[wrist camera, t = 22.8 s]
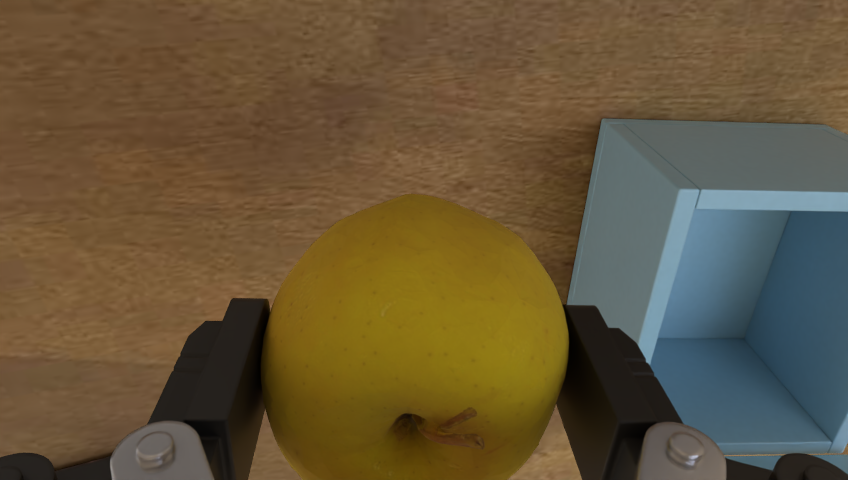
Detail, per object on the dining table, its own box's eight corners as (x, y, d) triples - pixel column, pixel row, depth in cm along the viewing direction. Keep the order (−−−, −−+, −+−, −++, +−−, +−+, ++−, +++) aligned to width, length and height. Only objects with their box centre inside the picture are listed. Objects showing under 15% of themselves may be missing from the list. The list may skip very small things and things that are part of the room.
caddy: (601, 117, 29) (679, 189, 21) (825, 124, 30) (979, 195, 22) (559, 340, 36) (607, 457, 28) (745, 340, 36) (842, 453, 29)
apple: (534, 141, 15) (659, 335, 8) (512, 340, 18) (589, 605, 11) (281, 141, 15) (187, 345, 8) (302, 344, 18) (248, 620, 11)
